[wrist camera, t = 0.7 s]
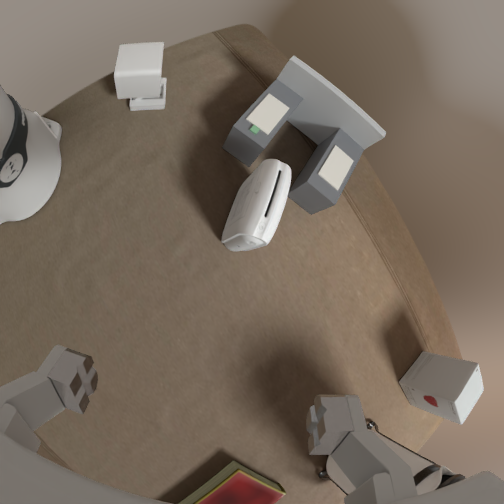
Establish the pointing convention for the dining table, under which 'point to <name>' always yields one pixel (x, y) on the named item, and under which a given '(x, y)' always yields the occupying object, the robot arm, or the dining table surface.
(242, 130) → the module bay
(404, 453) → the coffee press
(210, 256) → the dining table surface
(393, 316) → the dining table surface
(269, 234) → the photo printer
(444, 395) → the supplement box
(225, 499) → the hardcover book
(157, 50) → the security camera
